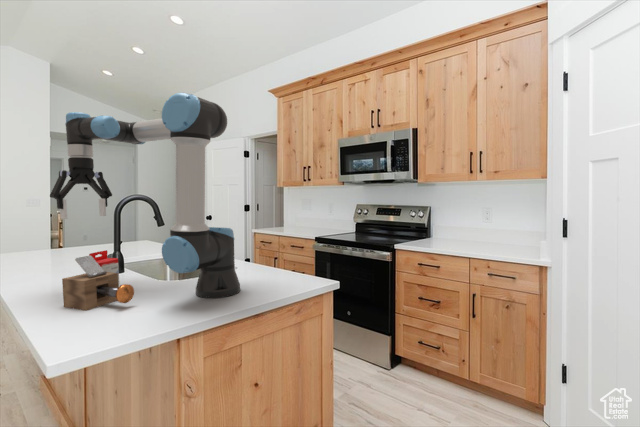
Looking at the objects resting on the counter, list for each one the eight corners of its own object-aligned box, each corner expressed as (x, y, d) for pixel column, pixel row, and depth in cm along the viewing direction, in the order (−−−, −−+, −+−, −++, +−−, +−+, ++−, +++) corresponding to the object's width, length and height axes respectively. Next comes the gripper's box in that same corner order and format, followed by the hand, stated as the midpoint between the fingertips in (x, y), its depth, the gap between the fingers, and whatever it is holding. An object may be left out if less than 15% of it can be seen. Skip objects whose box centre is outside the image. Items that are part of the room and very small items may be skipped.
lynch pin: (134, 300, 114) (133, 282, 113) (118, 305, 108) (117, 287, 108) (108, 296, 118) (108, 279, 117) (92, 301, 112) (91, 284, 112)
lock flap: (105, 274, 117) (107, 272, 117) (89, 278, 112) (90, 276, 112) (90, 257, 119) (92, 254, 119) (73, 260, 114) (75, 257, 114)
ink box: (102, 296, 125) (99, 254, 124) (89, 295, 126) (87, 253, 125) (120, 289, 133) (118, 250, 132) (108, 289, 134) (106, 249, 133)
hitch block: (119, 299, 120) (117, 273, 119) (86, 310, 109) (84, 281, 109) (97, 296, 124) (96, 270, 123) (63, 307, 113) (62, 278, 112)
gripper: (108, 160, 141) (111, 214, 143) (34, 155, 119) (39, 219, 120) (120, 159, 138) (123, 214, 139) (47, 154, 116) (51, 220, 117)
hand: (84, 217), depth 130 cm, fingers open, 13 cm apart
